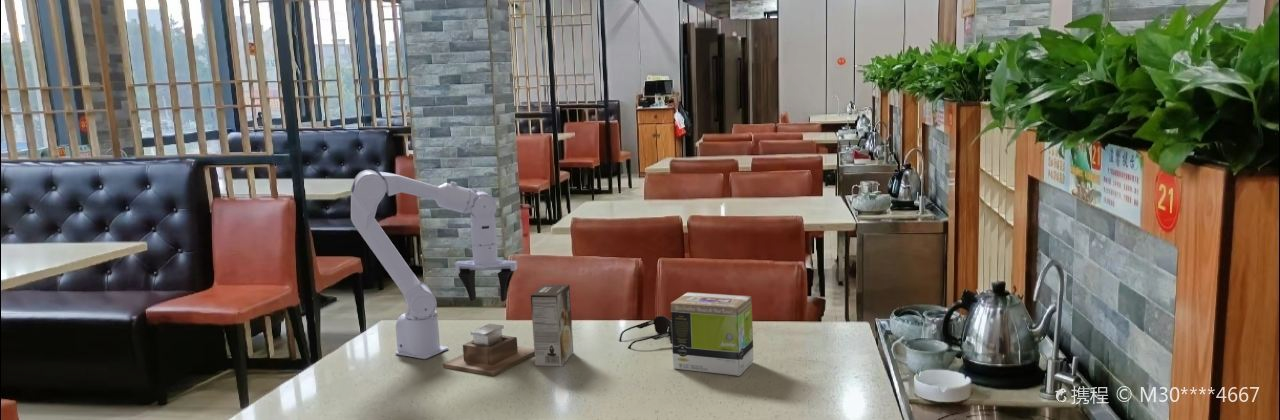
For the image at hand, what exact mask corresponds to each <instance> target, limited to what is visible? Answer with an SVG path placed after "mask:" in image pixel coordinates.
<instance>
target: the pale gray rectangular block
mask: <svg viewBox="0 0 1280 420" xmlns="http://www.w3.org/2000/svg"><path fill="white" fill-rule="evenodd" d="M504 326H505V325H502V324H495V323H487V324H486V325H484V326H481V327H479V328H476V329H475V330H472V331H470V335H471V336H472V337H473V339H472V340H474V345H481V346H487V347H492V346H494V345H496V344H498V343H500V342H502V335H503V331H502V330H503V329H504V328H505V327H504Z"/></svg>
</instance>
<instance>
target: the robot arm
mask: <svg viewBox="0 0 1280 420" xmlns="http://www.w3.org/2000/svg"><path fill="white" fill-rule="evenodd" d="M399 193H400V194H401V193H402V194H407V195H412V196H416V197H421V198H426V199H430V200H434V201H435V202H436V204H437V206H438V207H439V208H442V209H446V210H450V211H452V212H453V211H454V212H458V213H461V214H468V213H470V234H471V235H470V236H471V248H472V260H457V261H456V262H454V269H455V270H454V271H456V272H459V273H458V277H459V279H460V280H461V282H462V283H463V285H464V287H465V289H466V292H467V295H468V298H469V302H474V301H475V300H476V299H477V294H476V293H477V292H476V271H499V272H498V273H497V276H498V281H499V282H498V283H499V287H500V288H499V289H500V301H501V302H505V301H506V300H507V299H508V293H509V292H508V291H509V288H510V284H511V280H512V277H513V275H514V273H515V272H516V270H518V261H517V260H505V259H499V257H498V253H499V252H498V241H497V239H498V238H497V225H496V220H495V219H496V216H495V215H496V212H497V210H498V205H497V203H496V200H495V199H494V197H492V196H491V194H488V193H487V192H485V191H482V190H481V189H479V190H478V189H477V188H475V187H472V188H467V187H463V186H459V185H458V183H457V182H455V181H450V183H449V182H445V183H443V184H440V185H433V184H431V183H428V182H424V181H420V180H417V179H413V178H410V177H407V176H405V175H400V174H395V173H392V172H384V171H379V172H377V171H375V170H372V169H364V170H362V171H359V172H358V173H357V175H355V177H354V180H353V182H352V185H351V187H350V221H351V223H352V225H353V226H354V227H355V228H356V230H357V232H358V233H359V234H360V235H361V238H363V240H364V241H365V242H366V244H367V246H368V247H369V249H370V250H371V251H372V252H373V254H374V255H375V256H376V258H377V260H378V261H379V262H380V264H381V266H382V267H383V268H384V270H385V271H386V272H387V273H388V275H389V276H390V277H391V279H392V280H393V282H394V283H395V284H396V286H397V287H398V289H399V291H400V292H401V294H402V295H403V300H404V303H405V304H406V306H407V310H406V311H405V312H404V313H402V314H400V316H399V317H398V318H397V321H396V323H395V335H396V347H397V350H396V351H394V354H395V355H400V356H405V357H406V356H407V357H410V358H417V359H422V360H427V359H429V358H431V357H433V356H436V355H438V354H440V353H442V352H445V351H448V350H449V347H448V346H447V345H446V346H445V345H441V343H440V341H441V340H440V329H439V317H438V316H439V315H438V310H436V309H437V304H438V303H437V299H436V297H435V295H434V294H433V292H432V290H431V288H430V287H429V286H428V285H427V284H426V283H424V282H421V280H419V279H418V277H417V276H416V274H415V273H414V272H413V270H412V269H411V268H410V266H409V265H408V263H407V262H406V261H405V259H404V258H403V256H402V255H401V254H400V252H399V251H398V249H397V248H396V246H395V245H394V244H393V243H392V241H391V239H390V238H389V236H388V235H387V234H386V232H385V231H384V230H383V228H382V226H381V225H380V224H379V222H378V221H377V219H376V218H375V217H376V213H377V210H378V207H379V204H380V202H381V201H382V200H383V198H384V197H385V194H387V196H388V197H392V196H395V195H397V194H399Z"/></svg>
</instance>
